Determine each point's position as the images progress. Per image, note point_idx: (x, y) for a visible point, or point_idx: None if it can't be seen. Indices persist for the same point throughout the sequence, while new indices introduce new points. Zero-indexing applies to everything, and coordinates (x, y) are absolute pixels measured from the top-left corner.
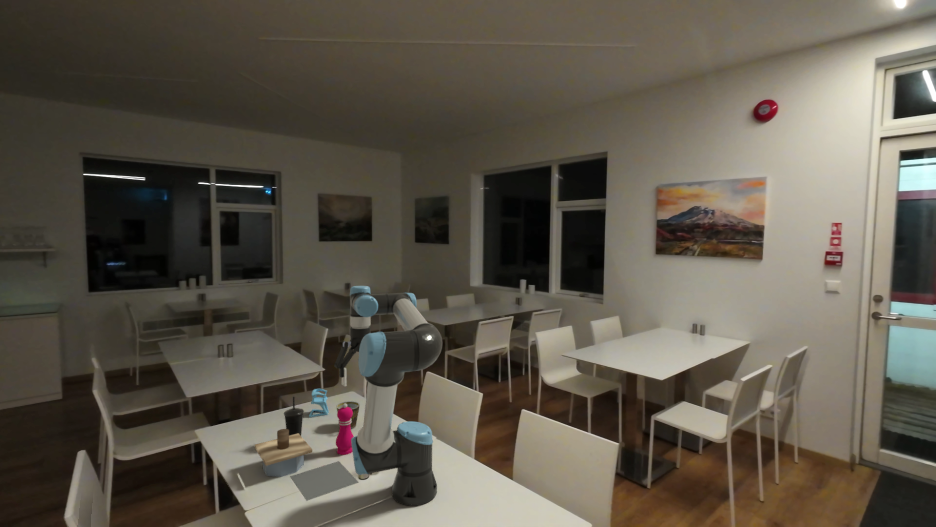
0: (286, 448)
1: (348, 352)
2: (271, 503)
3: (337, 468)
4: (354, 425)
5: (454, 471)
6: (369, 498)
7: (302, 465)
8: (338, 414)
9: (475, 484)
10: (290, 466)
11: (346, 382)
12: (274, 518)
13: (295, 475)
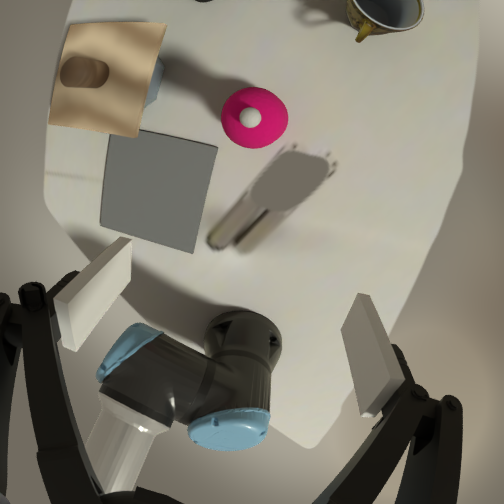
0: (97, 87)
1: (39, 440)
2: (65, 182)
3: (194, 174)
4: (376, 34)
5: (336, 351)
6: (180, 297)
7: (149, 102)
8: (221, 115)
9: (318, 385)
10: None
11: (120, 291)
12: (59, 221)
13: None
